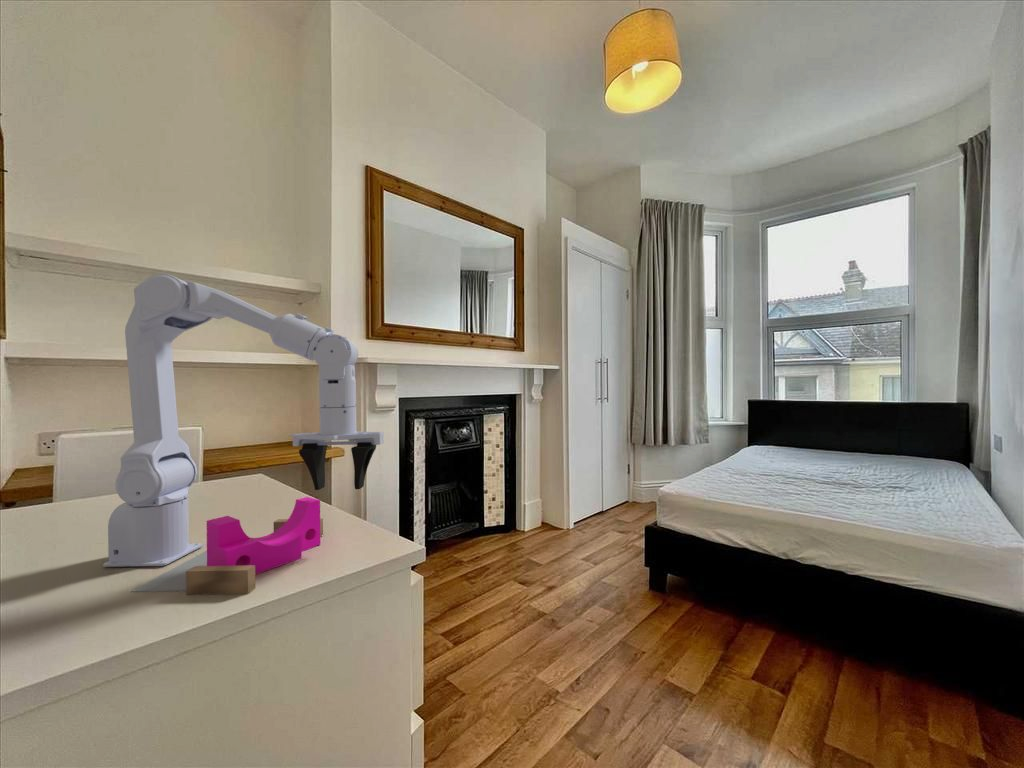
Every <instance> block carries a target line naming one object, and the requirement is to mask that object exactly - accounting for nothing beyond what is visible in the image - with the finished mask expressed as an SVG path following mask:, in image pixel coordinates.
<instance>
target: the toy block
mask: <svg viewBox="0 0 1024 768" xmlns="http://www.w3.org/2000/svg"><path fill="white" fill-rule="evenodd" d="M287 519H288V520H287V521H286V523H285V524H284V525H283V526H282V527H280V528H279V529H278V530H277V531H275V532H274V531H273V532H271V533H270V534H267V535H264V536H259V537H249V535H247V533H245V531H244V529H243V528H242V525H241V521H240V519H238V518H235V517H233V516H229V515H226V516H225V515H224V516H221V517H217V518H211V519H207V520H206V551H207V566H243V565H255V575H257V574H261V573H263V572H266V571H268V570H272V569H274V568H277V567H279V566H282V565H286V564H288V563H291V562H294V561H297V560H300V559H302V557H303V556H302V554H303V553H302V552H304V551H306V550H309V548H310V549H313V548H315V547H314V546H316V547H318V546H317V545H319V546H321V537H320V519H321V499H317V498H313V497H309V496H307V497H301V498H297V499H295V505H294V508H293V510H292V513H291V514H290V516H289V518H287ZM312 547H313V548H312ZM303 550H304V551H303ZM299 558H300V559H299ZM296 559H297V560H296Z"/></svg>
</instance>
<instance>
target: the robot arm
mask: <svg viewBox="0 0 1024 768" xmlns="http://www.w3.org/2000/svg"><path fill="white" fill-rule="evenodd" d="M133 294H134V305H133V307H132V310H131V313H130V314H129V317H128V320H127V322H126V325H125V327H124V328H125V329H124V334H125V348H126V356H127V357H126V359H127V370H128V371H127V372H128V381H129V383H128V384H129V396H130V408H131V418H132V419H131V420H132V432H133V443H132V444H131V445H130V446H129V447H128V449H126V451H125V452H124V453H123V454H122V455H121V457H120V470H119V473H118V474H117V477H116V479H115V491H116V493H117V495H118V497H119V498H120V499H121V500H122V501H124V502H123V503H121V504H119V505H118V506H116V507H115V509H114V510H113V511H112V512H111V514H110V516H109V518H108V523H107V542H108V544H107V547H108V549H107V550H108V551H107V552H108V554H107V555H108V561H106V562H104V563H103V565H102V567H104V568H107V567H110V568H112V567H113V568H114V567H116V568H117V567H163V566H166V565H167V566H168V564H171V563H173V562H175V561H177V560H178V559H181V558H183V557H184V556H186V555H188V554H190V553H192V552H194V551H196V550H198V549H200V548H202V547H203V546H204V544H203V542H200V543H199V542H196V543H194V542H193V543H190V533H189V532H190V531H189V529H190V526H189V525H190V523H189V521H190V519H189V518H190V517H189V495H190V487H191V486H192V485H193V484H194V483H195V482H196V479H197V477H198V468H197V464H196V462H195V461H194V460H193V458H192V456H191V454H190V453H191V451H190V446H189V445H188V444H187V443H186V442H185V441H184V440H183V439H182V438H181V437H180V435H179V434H180V433H179V423H178V421H179V420H178V410H177V407H178V406H177V400H176V399H177V397H176V384H175V383H176V382H175V372H174V361H173V349H172V342H173V341H174V340H175V339H176V338H178V337H179V336H180V335H182V334H183V333H184V332H187V331H188V330H191V329H194V328H196V327H199V326H201V325H204V324H206V323H208V322H209V321H211V320H212V319H217V320H221V319H224V318H227V317H228V318H229V319H232V320H234V321H237V322H239V323H242V324H244V325H247V326H249V327H253V328H255V329H257V330H260V331H262V332H265V333H267V334H269V336H270V339H271V341H272V343H273V344H274V346H277V347H279V348H281V349H284V350H286V351H288V352H291V353H293V354H295V355H298V356H300V357H303V358H305V359H307V360H309V361H315V363H316V364H317V365H318V373H319V374H318V375H319V377H318V393H319V394H318V397H319V400H318V401H319V402H318V403H319V404H318V405H319V407H318V408H319V409H318V410H319V432H305V433H296V434H292V446H293V447H301V446H302V447H301V449H298V454H299V456H300V457H301V459H302V460H303V461H304V463H305V465H306V467H307V469H308V471H309V474H310V476H311V480H312V483H313V486H314V491H319V490H321V489H323V488H325V486H326V473H325V471H326V469H325V467H326V466H325V464H326V454H327V450H328V449H327V448H328V446H339V445H340V446H343V445H344V446H347V445H354V446H353V447H351V448H350V449H351V450H350V452H351V454H352V460H353V468H354V469H353V470H354V471H353V472H354V473H353V475H354V481H353V482H354V483H353V484H354V489H355V490H361V489H362V488H363V487H364V484H365V479H366V474H367V470H368V467H369V464H370V462H371V459H372V457H373V455H374V453H375V451H376V449H377V446H380V445H382V444H384V431H357V390H356V389H357V385H356V383H357V381H356V369H355V368H356V367H355V365H356V363H357V362H358V359H359V350H358V347H357V346H356V344H355V343H354V342H353V341H352V340H351V339H348V338H347V337H346V336H341V335H339V334H334V332H335V330H334V329H332V328H330V327H329V326H327V327H326V328H324V327H322V326H319V325H317V324H315V323H313V322H310V321H309V320H307V319H308V317H307V316H305V315H303V314H300V313H299V312H298V313H296V315H294V314H293V313H287V314H283V315H280V316H276V315H275V314H272V313H271V312H268V311H266V310H263V309H261V308H259V307H257V306H255V305H253V304H251V303H249V302H246V301H244V300H242V299H240V298H238V297H236V296H234V295H231V294H229V293H226V292H224V291H222V290H220V289H217V288H214V287H210V286H208V285H204V284H201V283H198V282H194V281H192V280H191V281H190V280H187V279H184V280H182V279H179V278H178V277H177V276H174V275H172V274H169V273H156V274H153V275H150V276H149V277H147V278H146V279H145V280H144V281H142V282H141V283H140V284H138V285H137V286H136V287H134V288H133ZM355 445H356V446H355Z"/></svg>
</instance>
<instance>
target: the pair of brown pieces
mask: <svg viewBox="0 0 1024 768" xmlns="http://www.w3.org/2000/svg"><path fill="white" fill-rule="evenodd" d="M288 519H289V518H282V519H281V518H278V519H276V520H274V521H273V532H275V531H277V530H278V529H279V528H280V527H282V526H283V525H284V524H285V523H286V521H287V520H288ZM322 535H323V536H324V518H321V517H320V538H322V537H323V536H322ZM321 536H322V537H321ZM255 589H256V574H255V565H243V566H194V567H193V568H191V569H189V570H187V571H186V591H185V592H186V593H185V594H186V595H189V596H190V595H193V596H194V595H241V594H242V595H244V594H245V595H247V594H250V593H251V592H253V590H255Z"/></svg>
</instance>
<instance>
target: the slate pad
mask: <svg viewBox="0 0 1024 768" xmlns="http://www.w3.org/2000/svg"><path fill="white" fill-rule="evenodd" d="M194 566H207V550H205V551H203V552H202V553H200V554H197V555H195V556H194V557H192V558H190V559H188V560H186V561H185V562H182V563H181V564H179V565H177V566H176V567H174V568H172V569H169V570H168V571H165V572H164V573H162V574H160V575H159V576H157V577H155V578H153V579H151V580H149V581H146V582H145V583H144V584H142V585H140V586H137V587H136V588H134V589H132V590H131V592H130V593H157V592H158V593H159V592H160V593H163V592H166V593H167V592H169V593H170V592H171V593H172V592H177V593H178V592H186V571H187V570H189V569H191V568H193V567H194Z"/></svg>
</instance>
